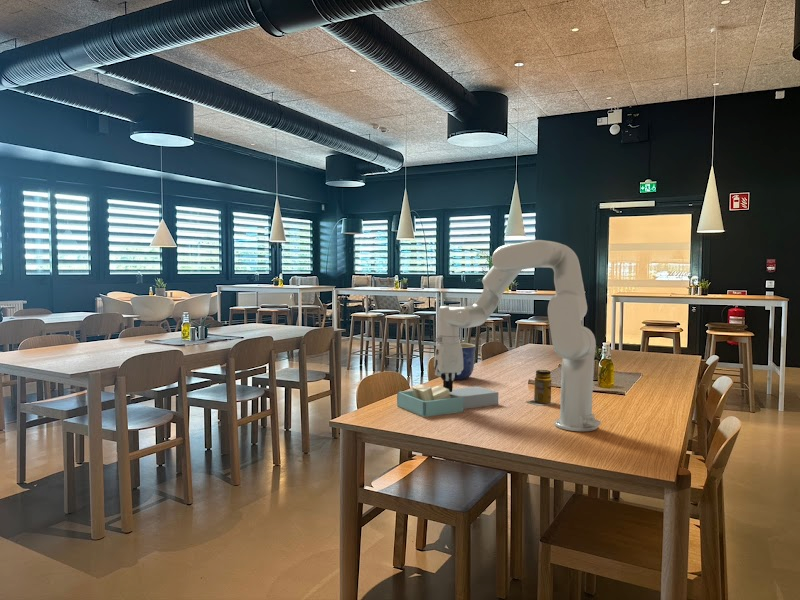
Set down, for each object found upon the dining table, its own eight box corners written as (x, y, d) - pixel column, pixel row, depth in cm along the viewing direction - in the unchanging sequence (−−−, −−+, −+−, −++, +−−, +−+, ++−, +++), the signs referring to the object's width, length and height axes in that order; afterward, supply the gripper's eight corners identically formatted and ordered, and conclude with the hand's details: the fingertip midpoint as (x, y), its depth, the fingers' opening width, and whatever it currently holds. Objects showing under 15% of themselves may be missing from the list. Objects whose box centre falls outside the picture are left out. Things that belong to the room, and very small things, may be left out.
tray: (463, 411, 195) (463, 397, 195) (423, 417, 187) (424, 402, 187) (434, 401, 210) (434, 387, 210) (397, 405, 202) (397, 392, 202)
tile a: (450, 398, 199) (448, 389, 198) (434, 405, 196) (432, 396, 195) (440, 394, 205) (438, 385, 205) (424, 401, 202) (422, 392, 201)
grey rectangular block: (498, 404, 206) (498, 392, 206) (458, 409, 197) (458, 397, 197) (477, 398, 217) (478, 386, 216) (438, 402, 208) (439, 390, 208)
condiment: (555, 403, 209) (556, 371, 209) (540, 406, 205) (540, 373, 204) (541, 399, 215) (541, 368, 215) (525, 402, 211) (525, 370, 210)
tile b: (431, 387, 194) (422, 391, 193) (435, 406, 196) (427, 410, 194) (420, 384, 200) (412, 387, 199) (425, 402, 202) (416, 406, 200)
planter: (435, 380, 251) (436, 346, 250) (439, 374, 268) (440, 342, 267) (474, 382, 248) (475, 347, 248) (475, 375, 265) (476, 343, 264)
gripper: (436, 342, 194) (436, 395, 195) (471, 340, 202) (471, 391, 203) (425, 340, 201) (424, 391, 202) (459, 338, 208) (458, 387, 209)
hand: (447, 391), depth 202 cm, fingers closed
